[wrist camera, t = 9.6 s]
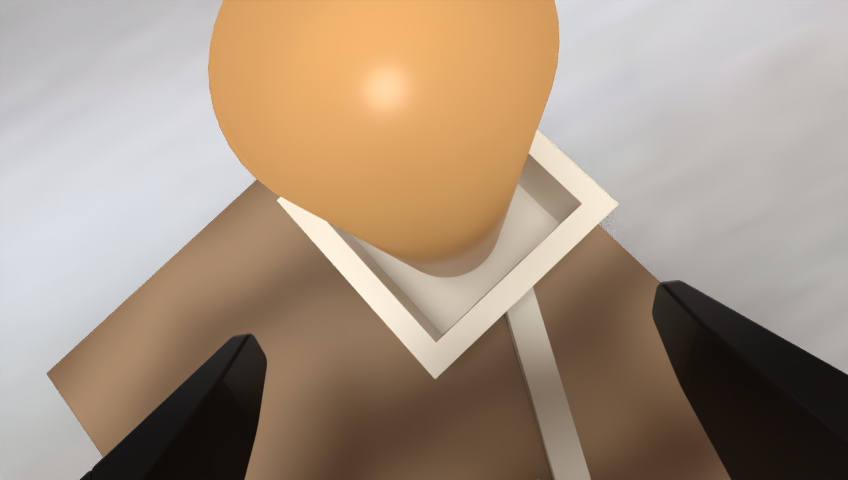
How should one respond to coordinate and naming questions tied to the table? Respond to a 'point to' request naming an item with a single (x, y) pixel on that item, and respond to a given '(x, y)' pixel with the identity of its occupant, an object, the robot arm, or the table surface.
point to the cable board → (399, 367)
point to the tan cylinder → (388, 113)
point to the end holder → (487, 284)
